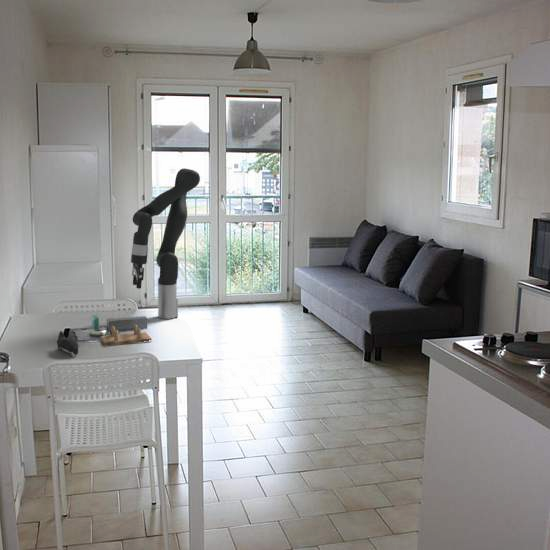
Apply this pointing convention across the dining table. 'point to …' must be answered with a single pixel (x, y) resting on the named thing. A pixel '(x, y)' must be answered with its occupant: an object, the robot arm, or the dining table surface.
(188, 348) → the dining table surface
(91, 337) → the gray base plate
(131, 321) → the bar
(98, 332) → the teal handled round piece
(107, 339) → the peg rack
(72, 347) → the figurine
